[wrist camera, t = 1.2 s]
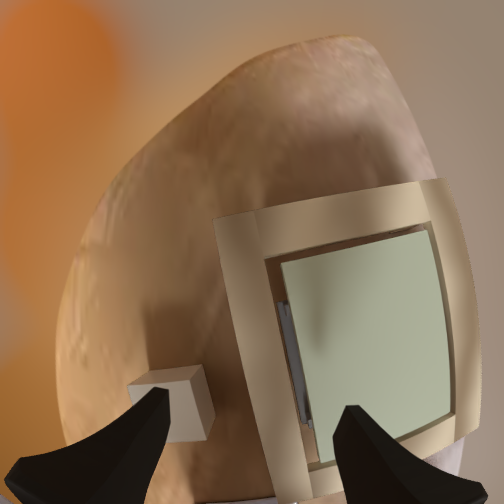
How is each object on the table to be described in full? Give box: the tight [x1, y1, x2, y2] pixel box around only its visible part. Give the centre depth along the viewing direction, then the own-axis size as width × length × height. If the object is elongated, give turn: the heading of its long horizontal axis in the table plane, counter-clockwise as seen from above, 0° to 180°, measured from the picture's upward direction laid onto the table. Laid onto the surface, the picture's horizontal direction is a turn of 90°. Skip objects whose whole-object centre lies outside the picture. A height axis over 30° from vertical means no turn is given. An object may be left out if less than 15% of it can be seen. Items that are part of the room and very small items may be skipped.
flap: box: [276, 230, 450, 463], centre depth 16 cm, size 10×12×3 cm
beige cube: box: [127, 364, 216, 443], centre depth 18 cm, size 4×4×4 cm
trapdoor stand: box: [212, 178, 481, 504], centre depth 17 cm, size 15×18×7 cm
